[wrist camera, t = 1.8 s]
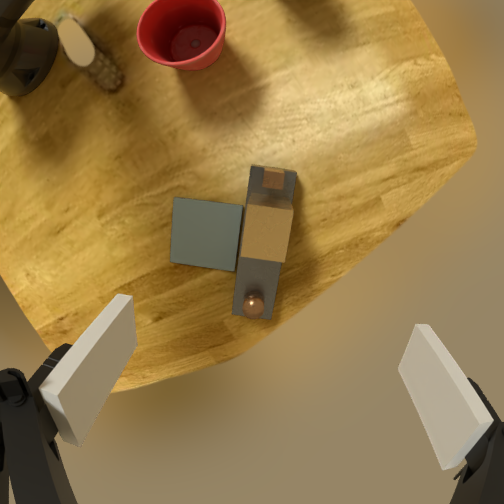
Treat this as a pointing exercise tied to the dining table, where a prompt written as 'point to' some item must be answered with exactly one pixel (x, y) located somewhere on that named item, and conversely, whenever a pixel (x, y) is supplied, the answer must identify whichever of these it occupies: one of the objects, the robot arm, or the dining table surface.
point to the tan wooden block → (267, 227)
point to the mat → (205, 233)
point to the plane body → (257, 270)
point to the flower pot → (182, 33)
